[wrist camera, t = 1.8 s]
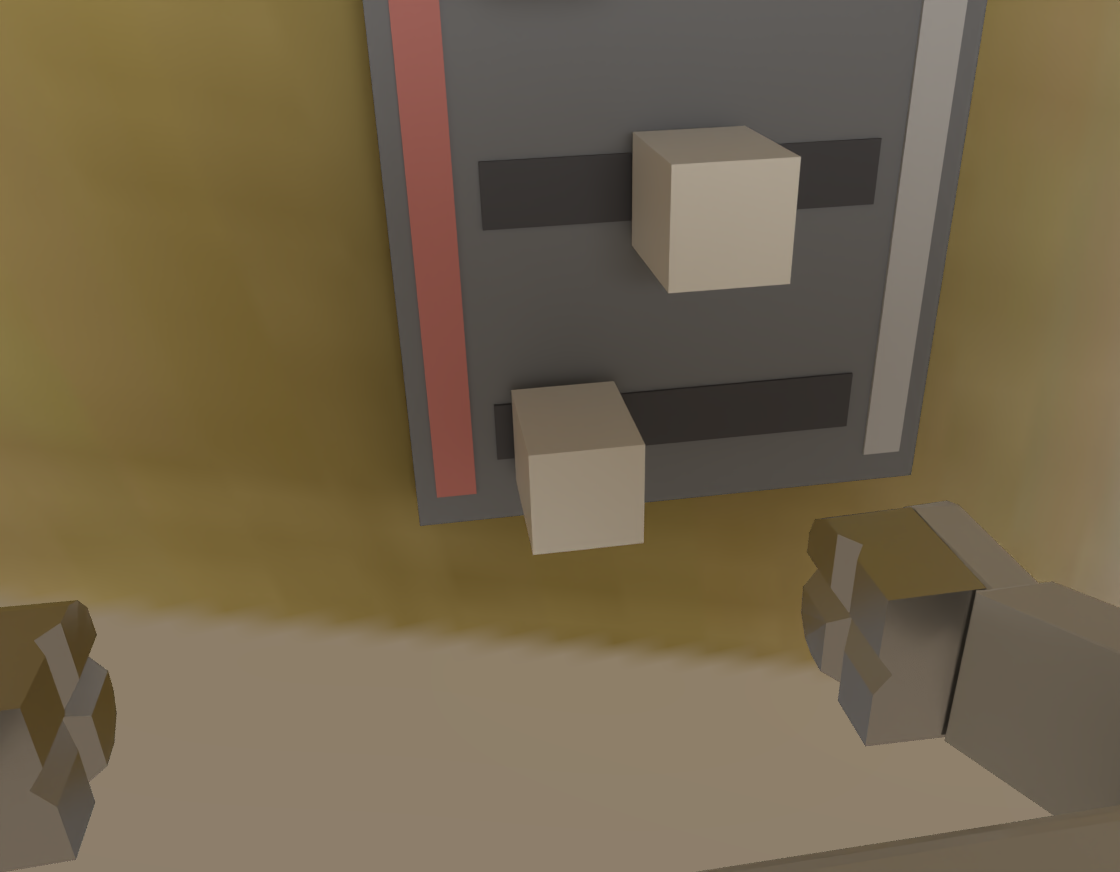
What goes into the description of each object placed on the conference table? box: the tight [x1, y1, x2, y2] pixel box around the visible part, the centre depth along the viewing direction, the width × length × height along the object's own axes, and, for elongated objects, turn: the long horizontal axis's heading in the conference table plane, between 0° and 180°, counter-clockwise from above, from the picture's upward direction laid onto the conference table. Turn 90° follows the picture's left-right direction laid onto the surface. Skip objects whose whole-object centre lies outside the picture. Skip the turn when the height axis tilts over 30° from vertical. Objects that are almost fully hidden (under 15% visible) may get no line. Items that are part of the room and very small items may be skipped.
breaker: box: [511, 381, 645, 555], centre depth 27 cm, size 3×3×4 cm
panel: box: [363, 0, 987, 526], centre depth 27 cm, size 16×20×2 cm
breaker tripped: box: [632, 126, 801, 293], centre depth 24 cm, size 3×3×4 cm
